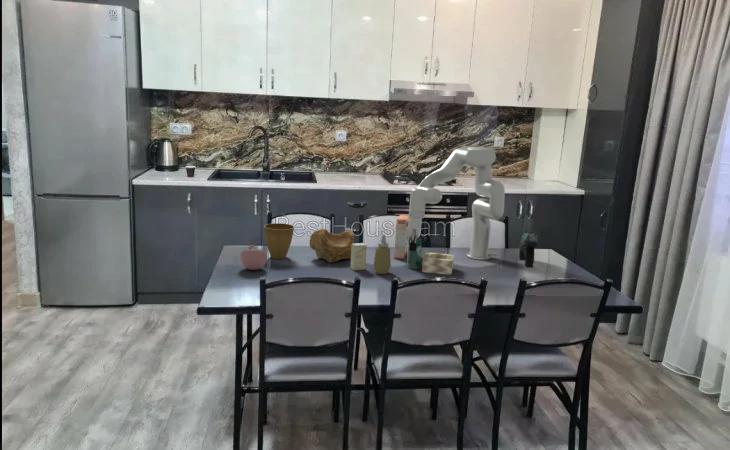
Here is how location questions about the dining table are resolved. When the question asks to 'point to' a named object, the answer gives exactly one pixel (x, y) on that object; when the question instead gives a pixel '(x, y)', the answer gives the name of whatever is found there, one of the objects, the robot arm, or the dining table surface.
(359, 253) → the skincare box
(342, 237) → the rough brown rock
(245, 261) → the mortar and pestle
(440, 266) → the well block
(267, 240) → the plant pot
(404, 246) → the cracker box
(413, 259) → the can
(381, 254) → the squeeze bottle
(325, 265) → the dining table surface
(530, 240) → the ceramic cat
